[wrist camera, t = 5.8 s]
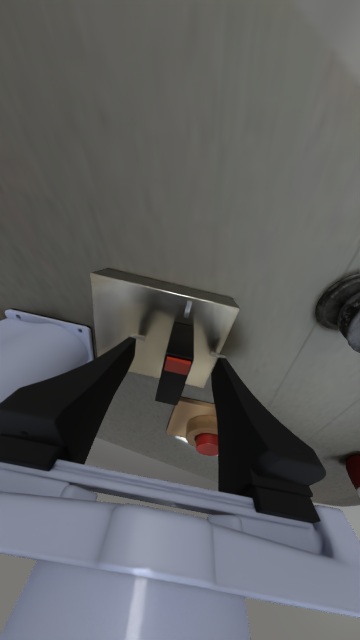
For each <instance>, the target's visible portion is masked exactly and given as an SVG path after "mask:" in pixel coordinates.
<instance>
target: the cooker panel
mask: <svg viewBox="0 0 360 640" xmlns="http://www.w3.org/2000/svg"><path fill="white" fill-rule="evenodd" d="M90 279H91V290H92V301H93V313H94V324H95V335H96V347H97V357H99V356H101V355H102V354H104V353H106V352H107V351H109V350H110V349H112V348H113V347H115V346H116V345H118V344H119V343H121V342H122V341H124V340H125V339H126V338H128V337H133V338H136V348H135V357H134V359H133V362H132V364H131V366H130V368H129V370H128V371H129V372H134V373H138V374H143V375H147V376H151V377H156V378H160V376H161V371H162V367H163V362H164V358H165V353H166V349H167V345H168V342H169V338H170V334H171V330H172V327H173V323H174V322H176V323H180V324H184V325H189V326H193V327H194V361H193V364H192V366H191V369H190V372H189V375H188V378H187V380H186V383H185V384H187V385H192V386H196V387H201V388H204V386H205V384H206V382H207V379H208V377H209V375H210V373H211V371H212V369H213V366H214V364H215V362H216V360H217V358H219V357H221V358H226V356H225V355H221V354H220V351H221V349H222V347H223V345H224V343H225V341H226V338H227V336H228V334H229V332H230V330H231V328H232V325H233V323H234V321H235V319H236V317H237V315H238V312H239V310H240V308H239V306H238V305H237V304H236V302H235V301H234V299H233V298H230V297H225V296H221V295H217V294H213V293H209V292H205V291H200V290H196V289H192V288H188V287H184V286H179V285H175V284H171V283H167V282H163V281H159V280H154V279H150V278H146V277H142V276H138V275H134V274H129V273H125V272H121V271H117V270H113V269H109V268H106V269H103V270H99V271H95V272H92V273H90Z"/></svg>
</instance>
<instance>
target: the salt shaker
mask: <svg viewBox="0 0 360 640" xmlns="http://www.w3.org/2000/svg"><path fill="white" fill-rule="evenodd" d="M316 317H317V320H318V321H319V322H320V323H321V324H322V325H323V326H325V327H327V328H331V329H339V330H340V331H341V333H342V335H343V336H344V337H345V338H346V339H347V340H348V344H349V345H350V346H351V347H352V348H353V350H355V351H357V352H359V353H360V273H358V274H355V275H352V276H349V277H347V278H345V279H343V280H341V281H339V282H337V283H336V284H334V285H333V286H332V287H330V288H329V289H328V290H327V291H326V292H325V293H324V294H323V296H322V297H321V299H320V300H319V302H318V305H317V308H316Z"/></svg>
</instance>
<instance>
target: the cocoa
mask: <svg viewBox="0 0 360 640" xmlns="http://www.w3.org/2000/svg"><path fill="white" fill-rule="evenodd" d="M346 470H347V472H348V475H349V477H350V479H351V482H352V483H353V485H354V487H355V489H356V490H357V493H358V494H359V496H360V455H354V456H350V457H349V458H348V459H347V461H346Z"/></svg>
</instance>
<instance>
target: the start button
mask: <svg viewBox="0 0 360 640" xmlns="http://www.w3.org/2000/svg"><path fill="white" fill-rule="evenodd" d="M196 450H197V451H198V452H199V453H201V454H203V455H208V456H213V455H218V435H217V434H212V433H201V434H198V435H196Z"/></svg>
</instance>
